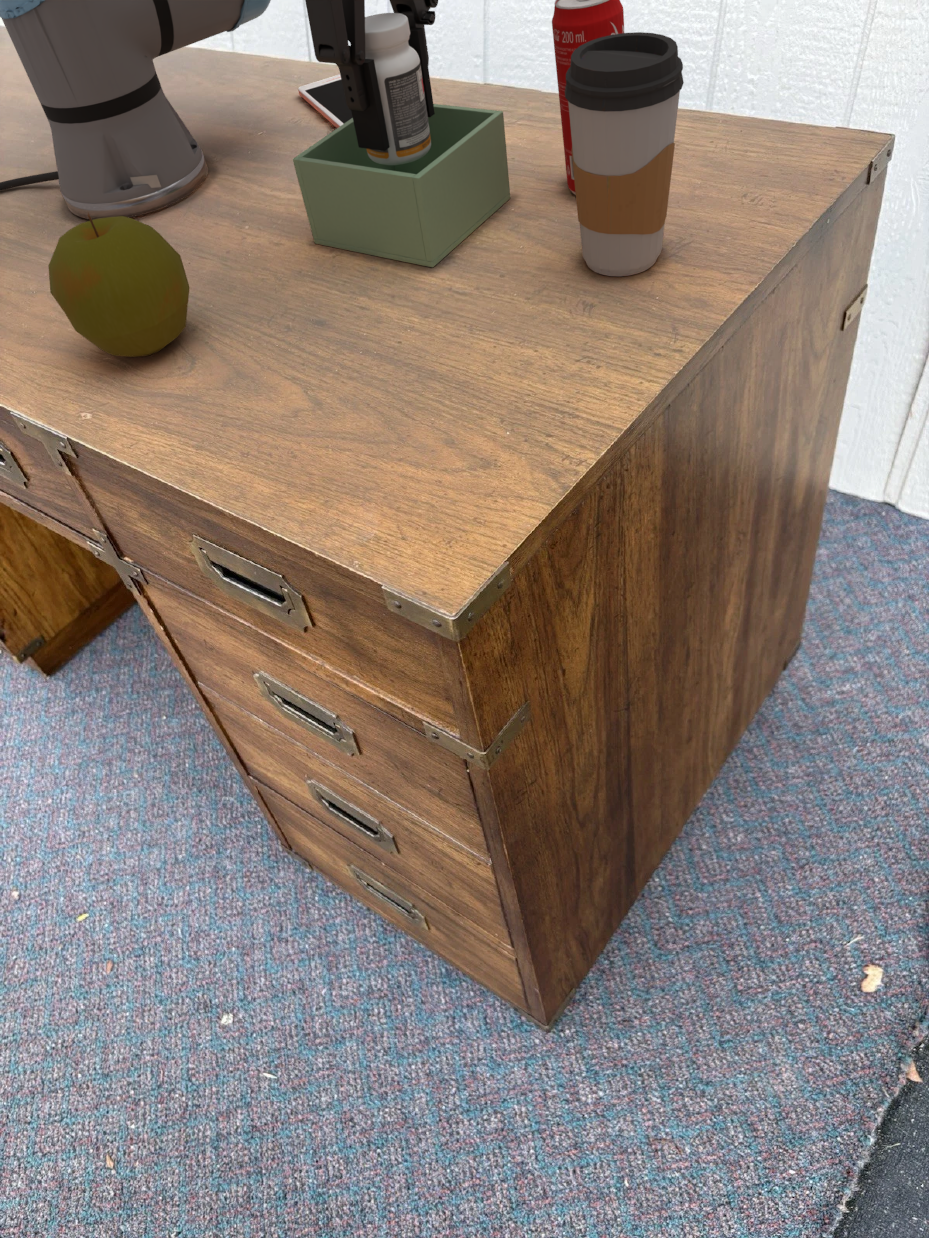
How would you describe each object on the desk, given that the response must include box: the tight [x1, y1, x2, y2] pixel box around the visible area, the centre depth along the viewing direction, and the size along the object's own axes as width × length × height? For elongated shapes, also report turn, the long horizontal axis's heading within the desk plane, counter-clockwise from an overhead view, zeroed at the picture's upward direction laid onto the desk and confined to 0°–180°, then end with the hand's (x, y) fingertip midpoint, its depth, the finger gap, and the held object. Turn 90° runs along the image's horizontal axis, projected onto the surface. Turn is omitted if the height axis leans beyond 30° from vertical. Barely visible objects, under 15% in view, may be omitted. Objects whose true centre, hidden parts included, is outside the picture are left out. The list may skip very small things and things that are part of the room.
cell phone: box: [297, 73, 353, 129], centre depth 100 cm, size 9×18×1 cm, turn 25°
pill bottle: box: [365, 12, 431, 165], centre depth 73 cm, size 6×6×10 cm
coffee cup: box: [565, 31, 685, 277], centre depth 66 cm, size 8×8×15 cm
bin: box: [292, 103, 511, 268], centre depth 78 cm, size 13×13×8 cm
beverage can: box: [551, 0, 625, 196], centre depth 75 cm, size 6×6×15 cm
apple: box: [47, 213, 191, 358], centre depth 69 cm, size 10×10×11 cm
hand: (397, 130), depth 75 cm, fingers open, 6 cm apart
